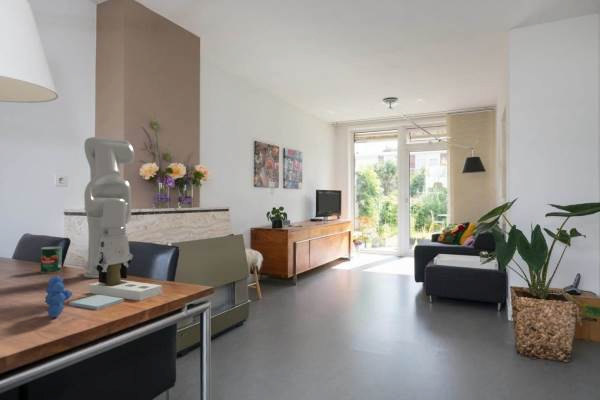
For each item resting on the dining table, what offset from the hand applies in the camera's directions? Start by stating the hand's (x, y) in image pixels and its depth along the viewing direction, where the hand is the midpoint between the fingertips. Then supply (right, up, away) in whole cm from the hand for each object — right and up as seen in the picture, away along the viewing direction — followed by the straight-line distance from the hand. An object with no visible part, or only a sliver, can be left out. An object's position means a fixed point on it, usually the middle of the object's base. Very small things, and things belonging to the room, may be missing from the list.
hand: (113, 280), depth 133 cm
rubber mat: (+3, -4, -15) cm, 16 cm away
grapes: (-1, -4, -29) cm, 29 cm away
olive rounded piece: (0, -4, 0) cm, 4 cm away
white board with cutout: (+6, -4, -2) cm, 7 cm away
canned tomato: (-45, -4, +33) cm, 56 cm away
